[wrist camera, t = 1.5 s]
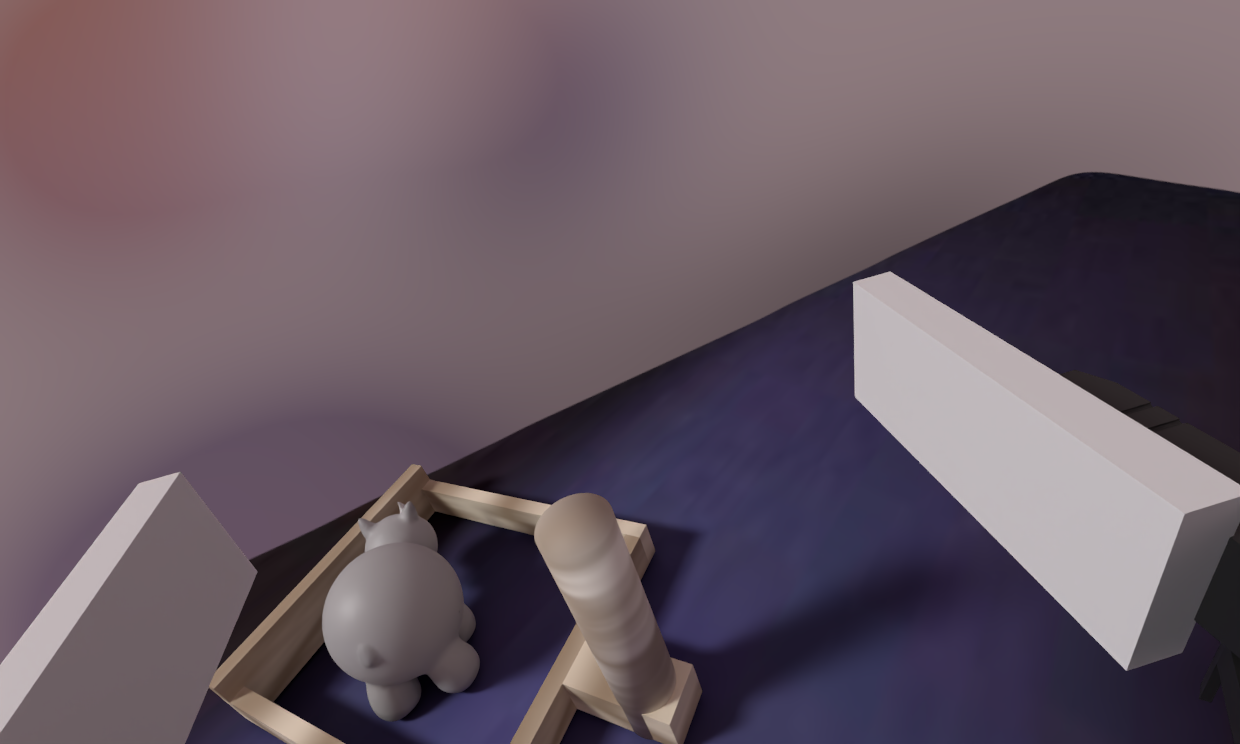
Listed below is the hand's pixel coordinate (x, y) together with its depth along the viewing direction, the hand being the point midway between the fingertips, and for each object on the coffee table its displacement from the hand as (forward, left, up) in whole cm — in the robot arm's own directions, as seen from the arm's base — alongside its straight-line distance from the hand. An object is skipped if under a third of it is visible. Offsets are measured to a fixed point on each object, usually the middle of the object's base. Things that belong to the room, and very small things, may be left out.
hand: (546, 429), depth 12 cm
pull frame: (+17, -5, -24) cm, 30 cm away
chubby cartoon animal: (+22, -5, -25) cm, 33 cm away
